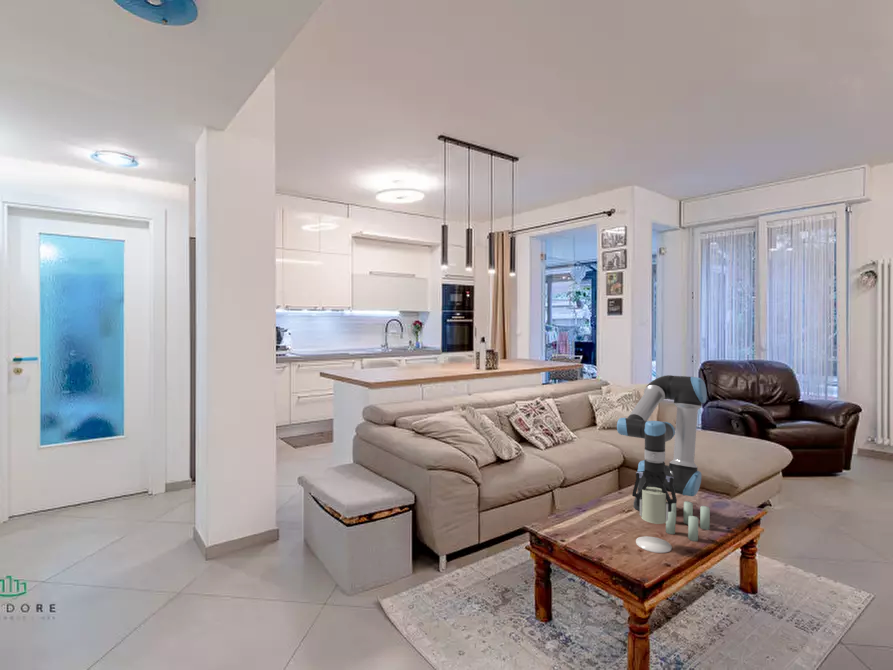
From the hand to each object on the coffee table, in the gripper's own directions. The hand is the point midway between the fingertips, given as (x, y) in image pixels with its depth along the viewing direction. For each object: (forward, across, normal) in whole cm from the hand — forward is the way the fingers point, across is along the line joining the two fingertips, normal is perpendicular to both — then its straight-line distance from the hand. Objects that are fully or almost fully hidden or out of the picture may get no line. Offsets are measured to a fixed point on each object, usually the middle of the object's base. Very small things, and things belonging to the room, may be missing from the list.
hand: (653, 516), depth 186 cm
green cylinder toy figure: (+1, 0, 0) cm, 1 cm away
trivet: (+11, 0, 0) cm, 11 cm away
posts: (+11, +12, +22) cm, 28 cm away
